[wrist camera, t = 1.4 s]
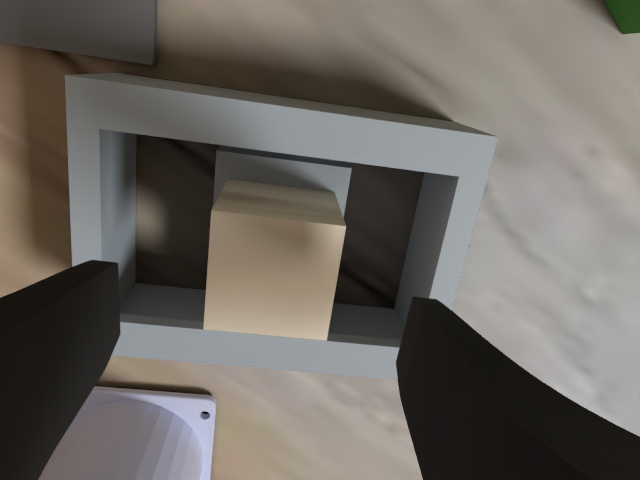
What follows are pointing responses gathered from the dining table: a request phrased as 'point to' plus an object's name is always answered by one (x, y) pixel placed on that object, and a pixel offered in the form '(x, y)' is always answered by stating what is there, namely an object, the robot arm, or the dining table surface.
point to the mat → (83, 27)
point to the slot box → (276, 169)
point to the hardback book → (625, 14)
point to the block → (273, 260)
